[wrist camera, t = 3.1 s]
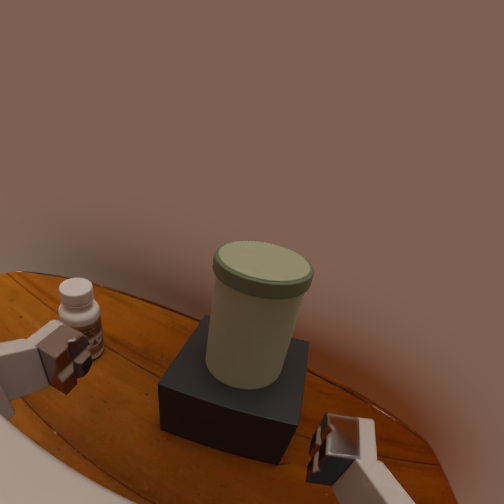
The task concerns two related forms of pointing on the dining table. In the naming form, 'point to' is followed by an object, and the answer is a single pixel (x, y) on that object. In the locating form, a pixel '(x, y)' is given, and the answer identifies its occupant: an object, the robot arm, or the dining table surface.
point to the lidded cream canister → (254, 311)
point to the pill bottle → (81, 312)
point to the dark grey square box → (232, 403)
